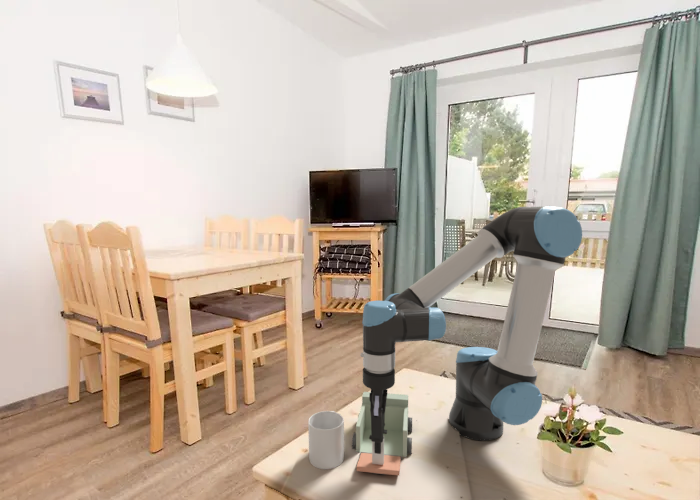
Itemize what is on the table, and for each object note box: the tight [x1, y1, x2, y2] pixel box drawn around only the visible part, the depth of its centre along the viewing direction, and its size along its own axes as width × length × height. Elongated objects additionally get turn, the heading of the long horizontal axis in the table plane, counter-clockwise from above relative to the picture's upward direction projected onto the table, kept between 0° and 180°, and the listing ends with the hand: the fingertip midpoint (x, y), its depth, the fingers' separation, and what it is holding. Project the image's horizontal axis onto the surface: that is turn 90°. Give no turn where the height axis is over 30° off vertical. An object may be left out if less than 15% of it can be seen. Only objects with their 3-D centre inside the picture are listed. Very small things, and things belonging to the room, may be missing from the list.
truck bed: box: [351, 391, 413, 458], centre depth 107 cm, size 15×15×10 cm
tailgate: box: [356, 452, 403, 476], centre depth 96 cm, size 10×2×9 cm
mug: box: [307, 410, 345, 470], centre depth 100 cm, size 12×9×11 cm
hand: (378, 462), depth 94 cm, fingers closed
